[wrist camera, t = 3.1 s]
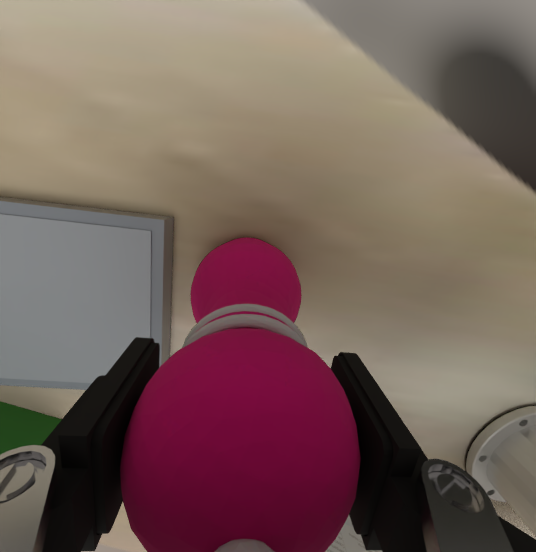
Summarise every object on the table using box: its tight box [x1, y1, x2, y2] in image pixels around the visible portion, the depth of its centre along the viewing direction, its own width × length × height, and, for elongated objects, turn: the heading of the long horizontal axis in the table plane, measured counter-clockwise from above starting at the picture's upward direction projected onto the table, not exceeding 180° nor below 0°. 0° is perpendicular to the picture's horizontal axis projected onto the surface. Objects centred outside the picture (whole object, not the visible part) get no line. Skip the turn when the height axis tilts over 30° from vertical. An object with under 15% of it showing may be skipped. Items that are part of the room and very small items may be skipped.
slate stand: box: [0, 197, 174, 390], centre depth 21 cm, size 14×14×3 cm
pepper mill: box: [120, 238, 361, 552], centre depth 13 cm, size 7×7×20 cm
